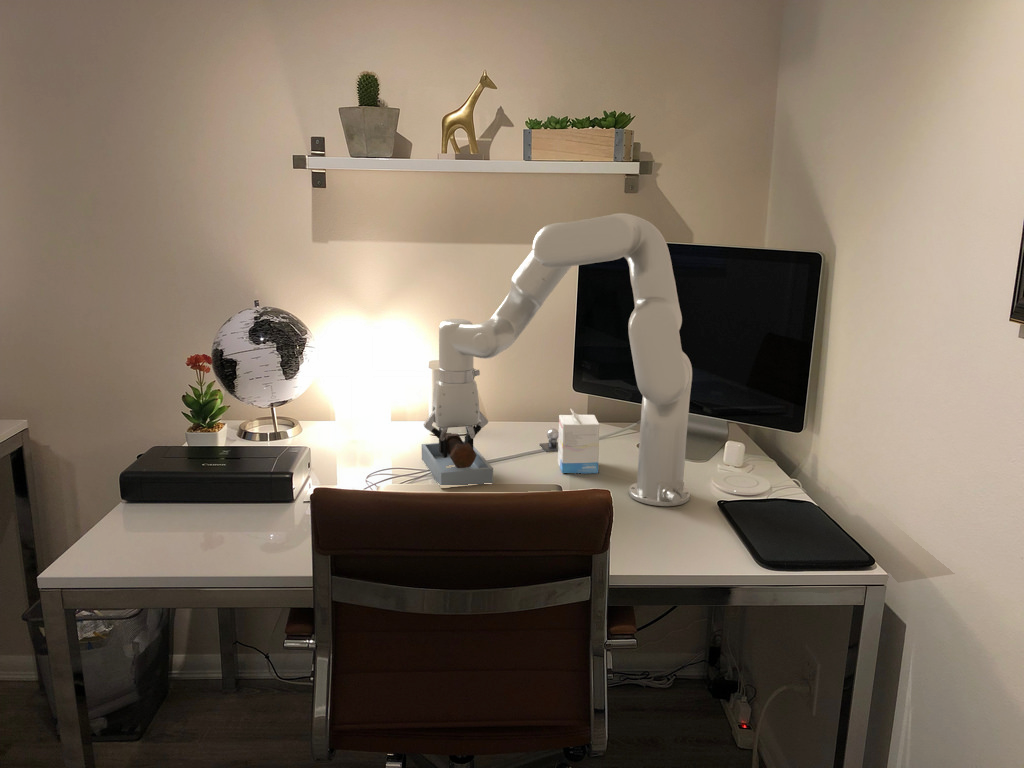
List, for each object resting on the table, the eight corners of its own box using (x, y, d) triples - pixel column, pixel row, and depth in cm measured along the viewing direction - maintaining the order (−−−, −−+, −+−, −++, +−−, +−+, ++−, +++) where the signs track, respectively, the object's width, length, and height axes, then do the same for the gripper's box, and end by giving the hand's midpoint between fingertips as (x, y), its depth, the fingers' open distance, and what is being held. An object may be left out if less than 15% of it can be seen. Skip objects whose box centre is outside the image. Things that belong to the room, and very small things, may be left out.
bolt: (451, 454, 193) (467, 473, 179) (432, 445, 192) (447, 463, 178) (463, 432, 193) (480, 449, 179) (444, 423, 191) (460, 440, 177)
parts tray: (492, 484, 179) (492, 468, 178) (441, 488, 176) (441, 472, 175) (468, 454, 198) (468, 440, 197) (421, 458, 195) (421, 444, 194)
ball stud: (565, 450, 203) (566, 430, 202) (546, 452, 201) (547, 432, 200) (558, 444, 207) (559, 425, 206) (539, 445, 206) (540, 426, 205)
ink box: (598, 474, 187) (601, 417, 184) (561, 474, 186) (563, 417, 183) (592, 461, 195) (594, 406, 192) (557, 461, 194) (558, 406, 191)
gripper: (488, 370, 188) (487, 447, 192) (414, 374, 183) (415, 452, 187) (498, 377, 181) (497, 457, 185) (421, 381, 176) (422, 463, 180)
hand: (456, 454), depth 186 cm, fingers closed on bolt, 4 cm apart
